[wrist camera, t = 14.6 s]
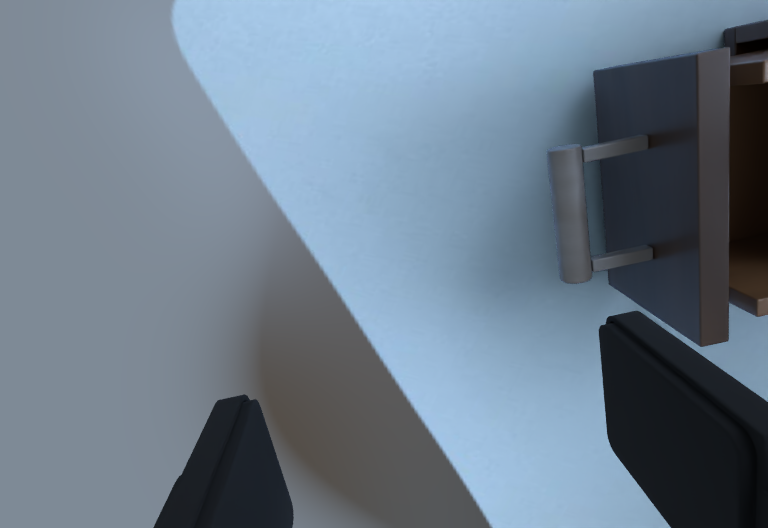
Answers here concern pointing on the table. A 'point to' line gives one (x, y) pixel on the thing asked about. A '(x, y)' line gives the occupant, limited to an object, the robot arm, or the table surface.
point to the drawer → (675, 189)
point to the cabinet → (747, 38)
